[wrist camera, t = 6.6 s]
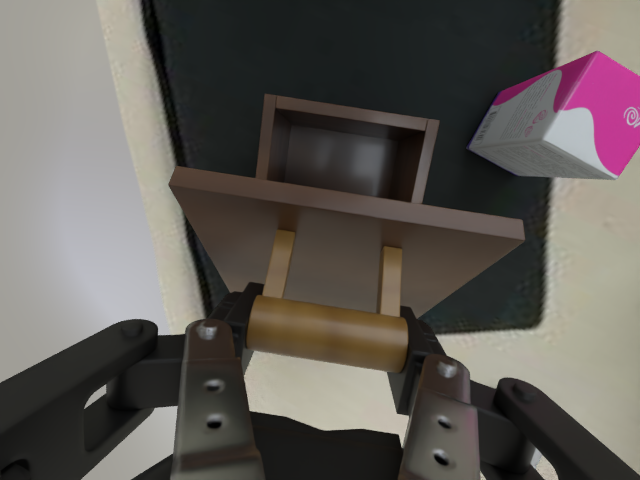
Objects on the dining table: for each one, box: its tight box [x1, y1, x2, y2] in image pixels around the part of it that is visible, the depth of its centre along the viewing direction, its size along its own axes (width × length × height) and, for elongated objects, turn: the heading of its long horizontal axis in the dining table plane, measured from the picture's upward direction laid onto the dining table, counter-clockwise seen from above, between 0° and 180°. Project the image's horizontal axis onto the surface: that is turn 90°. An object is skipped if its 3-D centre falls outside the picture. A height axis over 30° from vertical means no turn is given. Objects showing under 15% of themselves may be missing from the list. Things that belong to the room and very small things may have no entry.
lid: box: [169, 166, 525, 373], centre depth 17 cm, size 15×12×5 cm
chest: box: [256, 94, 440, 204], centre depth 29 cm, size 15×12×10 cm
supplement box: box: [466, 51, 640, 180], centre depth 26 cm, size 6×6×12 cm
